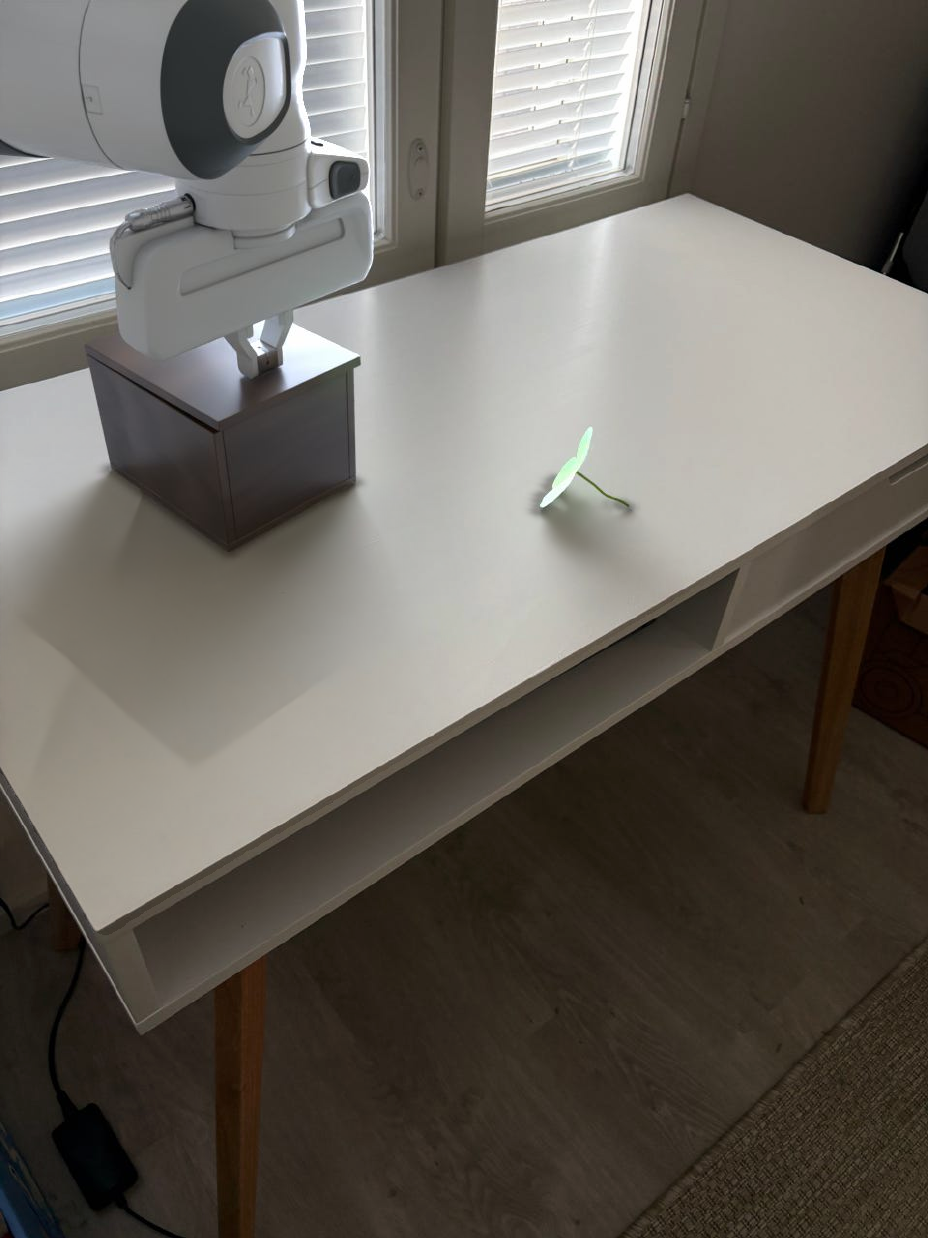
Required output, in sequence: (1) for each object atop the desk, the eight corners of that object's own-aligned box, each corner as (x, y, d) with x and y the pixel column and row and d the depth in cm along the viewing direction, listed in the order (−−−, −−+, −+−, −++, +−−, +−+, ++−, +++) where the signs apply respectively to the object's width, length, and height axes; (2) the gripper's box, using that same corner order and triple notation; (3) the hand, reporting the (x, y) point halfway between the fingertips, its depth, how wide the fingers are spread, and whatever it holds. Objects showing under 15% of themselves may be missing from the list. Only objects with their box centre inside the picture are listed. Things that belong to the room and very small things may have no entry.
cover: (361, 365, 78) (360, 355, 77) (219, 431, 70) (218, 421, 70) (226, 299, 86) (224, 290, 85) (85, 352, 78) (83, 343, 77)
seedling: (584, 548, 89) (526, 506, 87) (633, 473, 89) (576, 430, 88) (615, 551, 82) (552, 504, 80) (668, 469, 82) (607, 422, 81)
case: (356, 481, 86) (353, 367, 79) (229, 553, 78) (213, 434, 71) (238, 410, 93) (226, 299, 86) (111, 469, 85) (85, 353, 78)
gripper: (137, 236, 58) (171, 440, 68) (387, 157, 70) (386, 340, 79) (74, 203, 61) (115, 403, 71) (325, 133, 73) (331, 312, 82)
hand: (261, 369), depth 75 cm, fingers closed, pressing on cover
